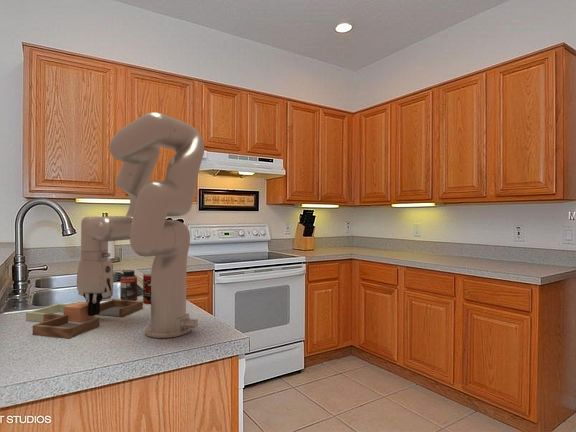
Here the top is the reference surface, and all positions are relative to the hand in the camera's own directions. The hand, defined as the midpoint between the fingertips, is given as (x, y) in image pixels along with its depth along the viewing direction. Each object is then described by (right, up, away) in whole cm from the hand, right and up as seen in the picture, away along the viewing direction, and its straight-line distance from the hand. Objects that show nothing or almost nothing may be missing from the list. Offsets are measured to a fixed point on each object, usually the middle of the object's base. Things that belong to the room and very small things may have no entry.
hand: (93, 314), depth 114 cm
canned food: (+10, -2, +24) cm, 26 cm away
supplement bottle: (-1, -2, +27) cm, 27 cm away
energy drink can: (-12, -2, +29) cm, 31 cm away
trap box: (-6, -2, +1) cm, 6 cm away
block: (-5, -2, +1) cm, 5 cm away
